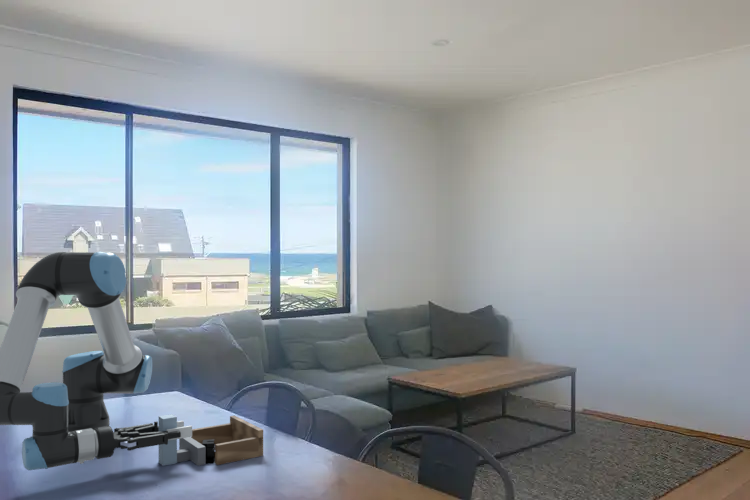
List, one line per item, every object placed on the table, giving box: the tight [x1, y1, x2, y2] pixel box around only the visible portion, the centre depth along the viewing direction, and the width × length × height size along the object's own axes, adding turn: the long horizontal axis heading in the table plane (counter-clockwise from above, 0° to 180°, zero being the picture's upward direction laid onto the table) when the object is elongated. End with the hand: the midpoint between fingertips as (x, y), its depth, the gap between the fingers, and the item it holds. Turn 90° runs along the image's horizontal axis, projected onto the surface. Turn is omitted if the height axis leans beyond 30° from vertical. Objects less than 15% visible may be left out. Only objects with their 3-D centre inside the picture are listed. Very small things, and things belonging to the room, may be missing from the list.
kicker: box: [158, 413, 207, 467], centre depth 172 cm, size 14×9×12 cm, turn 36°
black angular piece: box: [194, 439, 216, 466], centre depth 174 cm, size 13×8×5 cm, turn 11°
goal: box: [191, 415, 264, 466], centre depth 179 cm, size 19×13×7 cm
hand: (187, 428), depth 173 cm, fingers open, 5 cm apart
